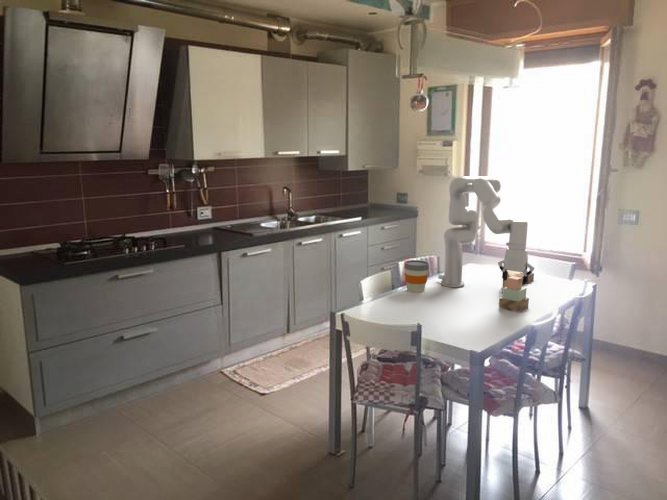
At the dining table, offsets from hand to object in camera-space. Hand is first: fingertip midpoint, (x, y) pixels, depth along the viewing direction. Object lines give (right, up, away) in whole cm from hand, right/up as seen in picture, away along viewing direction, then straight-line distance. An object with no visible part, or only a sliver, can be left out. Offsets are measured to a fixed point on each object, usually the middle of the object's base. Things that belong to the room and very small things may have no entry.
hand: (514, 282), depth 257 cm
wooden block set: (+17, -3, +52) cm, 55 cm away
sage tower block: (0, -8, +2) cm, 8 cm away
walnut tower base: (0, -13, +3) cm, 13 cm away
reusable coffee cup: (-42, -6, +30) cm, 52 cm away
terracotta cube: (0, -3, +1) cm, 3 cm away
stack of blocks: (+7, -8, +27) cm, 29 cm away
